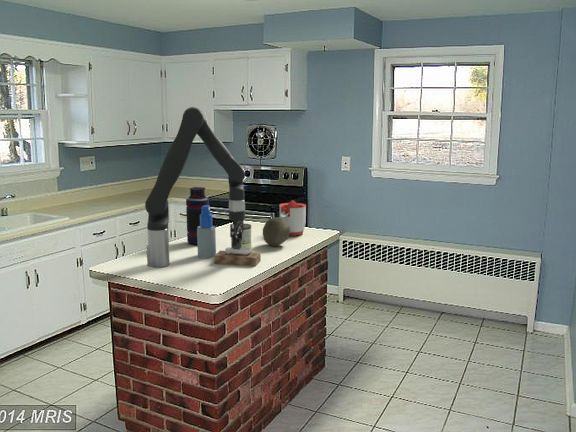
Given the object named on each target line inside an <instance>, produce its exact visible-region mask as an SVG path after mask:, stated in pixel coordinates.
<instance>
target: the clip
mask: <svg viewBox="0 0 576 432" xmlns="http://www.w3.org/2000/svg"><path fill="white" fill-rule="evenodd" d="M224 251H225V252H227V255H232V253H243V256H248V253H249V252H250V249H249V248H241V238H237V246H233V248H231V247H228V246H227V247H226V248H225V250H224Z"/></svg>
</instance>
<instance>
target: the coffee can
mask: <svg viewBox="0 0 576 432" xmlns="http://www.w3.org/2000/svg"><path fill="white" fill-rule="evenodd" d="M233 235H234V234H233ZM230 243H231V244H230V246H231V247H230V248H233V245H232V237H230ZM241 248H249V249H250V252H252V225H251V224H249V223H244V231H243V233H242V241H241Z"/></svg>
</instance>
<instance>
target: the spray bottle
mask: <svg viewBox="0 0 576 432" xmlns="http://www.w3.org/2000/svg"><path fill="white" fill-rule="evenodd" d="M210 207H211V206H210V204H209V205H204V206H202V211H201V214H200V226H198V227H197V257H198V258H200V259H211V258H212V259H214V255H215V254H217V244H216V243H217V242H216V241H217V239H216V237H217V236H216V235H217V233H216V226H215V225H213V214H212V213H211V209H210Z"/></svg>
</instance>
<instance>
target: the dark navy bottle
mask: <svg viewBox="0 0 576 432" xmlns="http://www.w3.org/2000/svg"><path fill="white" fill-rule="evenodd" d="M206 192H207V194H208V196H207V195H206ZM189 193H190V195H189V197H187V198H185V205H186V207H185V208H186V209H185V213H186V232H187V233H186V234H187V236H186V239H187V243H188V245H191V244H197V227H198V226H200V214H201V211H202V206H204V205H209V206H210V201H209V196H210V193H209V191H208V190H207V189H206V187H204V186H203V187H202V186H201V187H200V186H192V187H190V188H189ZM197 245H198V244H197Z"/></svg>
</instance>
